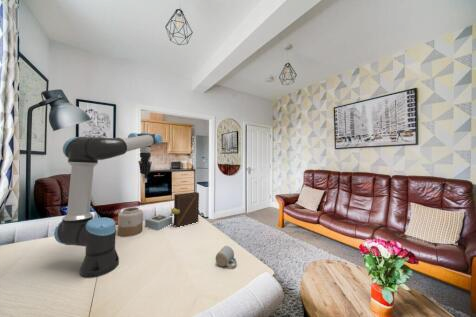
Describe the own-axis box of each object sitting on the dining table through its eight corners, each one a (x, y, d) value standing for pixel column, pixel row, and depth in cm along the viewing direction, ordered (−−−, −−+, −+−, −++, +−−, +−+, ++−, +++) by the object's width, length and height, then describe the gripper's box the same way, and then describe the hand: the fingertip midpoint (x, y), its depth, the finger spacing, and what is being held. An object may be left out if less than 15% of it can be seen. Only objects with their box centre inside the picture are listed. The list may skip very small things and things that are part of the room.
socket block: (172, 224, 145) (172, 216, 145) (158, 230, 133) (158, 221, 133) (159, 221, 151) (159, 213, 151) (145, 227, 139) (145, 218, 139)
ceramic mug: (214, 265, 93) (214, 250, 93) (222, 257, 100) (222, 243, 100) (232, 271, 88) (232, 256, 88) (239, 263, 96) (239, 249, 96)
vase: (121, 228, 134) (122, 206, 134) (144, 227, 139) (144, 205, 138) (114, 237, 119) (115, 213, 119) (139, 235, 124) (140, 211, 124)
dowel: (163, 224, 143) (163, 216, 143) (158, 226, 139) (158, 217, 139) (159, 223, 145) (159, 215, 145) (154, 225, 141) (154, 217, 141)
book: (195, 220, 157) (195, 191, 156) (199, 223, 150) (200, 193, 150) (169, 225, 142) (170, 194, 142) (173, 229, 136) (174, 196, 136)
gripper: (155, 152, 141) (154, 182, 141) (144, 152, 146) (143, 181, 147) (146, 152, 134) (146, 183, 134) (135, 152, 139) (134, 182, 140)
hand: (144, 182), depth 140 cm, fingers closed
